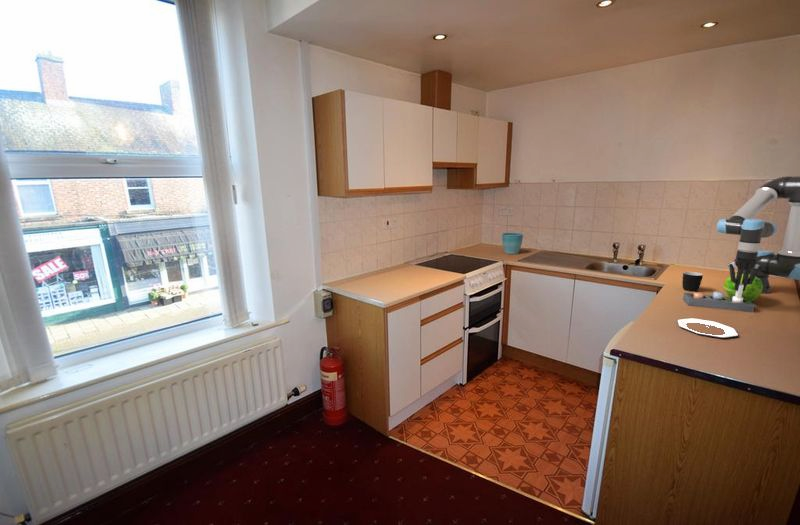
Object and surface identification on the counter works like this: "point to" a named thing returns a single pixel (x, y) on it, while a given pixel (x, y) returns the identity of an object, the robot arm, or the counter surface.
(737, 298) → the key ivory
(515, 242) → the flower pot
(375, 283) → the counter surface
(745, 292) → the lettuce
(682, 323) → the plate
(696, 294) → the key rust
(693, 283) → the mug
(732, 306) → the panel
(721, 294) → the key slate
